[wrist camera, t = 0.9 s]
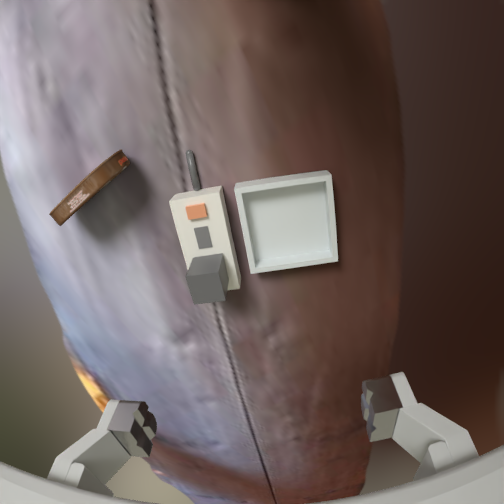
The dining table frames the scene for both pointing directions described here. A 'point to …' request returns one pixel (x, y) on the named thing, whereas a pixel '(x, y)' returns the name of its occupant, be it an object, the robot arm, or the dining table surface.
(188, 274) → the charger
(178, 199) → the power strip
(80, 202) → the tin
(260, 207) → the tray
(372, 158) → the dining table surface
